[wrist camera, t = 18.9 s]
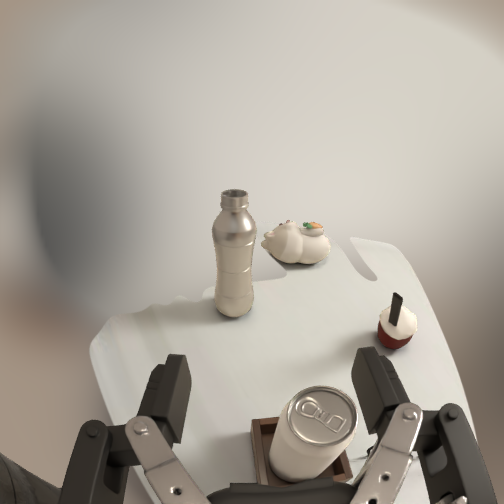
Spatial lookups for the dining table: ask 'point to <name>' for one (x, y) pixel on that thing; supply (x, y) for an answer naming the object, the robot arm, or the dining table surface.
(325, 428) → the can
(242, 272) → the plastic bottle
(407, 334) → the cocoa
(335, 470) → the tray
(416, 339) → the dining table surface
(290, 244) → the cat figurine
